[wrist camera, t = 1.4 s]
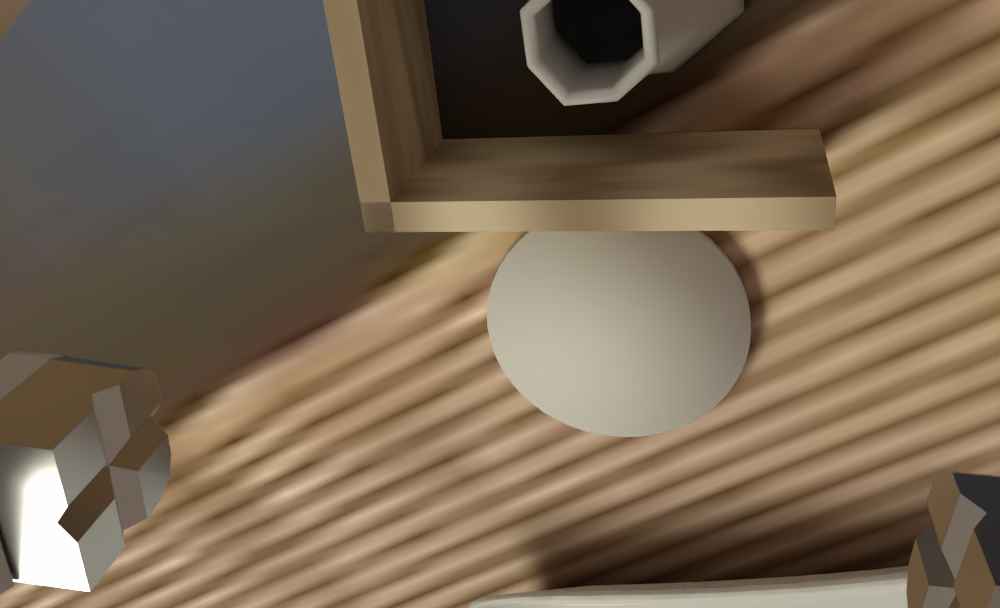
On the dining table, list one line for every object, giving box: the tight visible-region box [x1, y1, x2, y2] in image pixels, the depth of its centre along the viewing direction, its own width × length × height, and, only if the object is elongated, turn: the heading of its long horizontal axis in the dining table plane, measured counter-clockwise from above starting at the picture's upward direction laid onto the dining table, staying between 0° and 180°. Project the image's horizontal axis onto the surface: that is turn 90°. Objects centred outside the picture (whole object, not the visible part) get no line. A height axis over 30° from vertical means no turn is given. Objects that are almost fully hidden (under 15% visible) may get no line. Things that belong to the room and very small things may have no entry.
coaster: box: [487, 231, 751, 437], centre depth 35 cm, size 10×10×1 cm
